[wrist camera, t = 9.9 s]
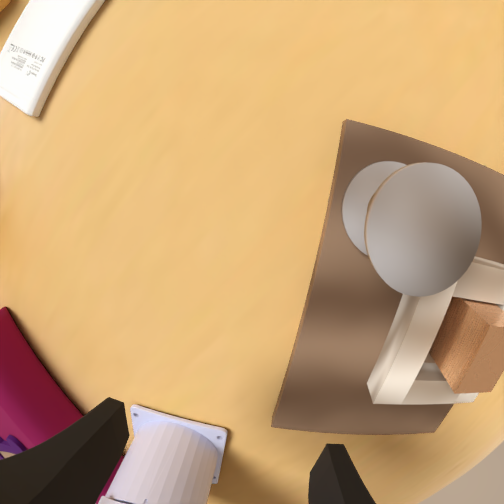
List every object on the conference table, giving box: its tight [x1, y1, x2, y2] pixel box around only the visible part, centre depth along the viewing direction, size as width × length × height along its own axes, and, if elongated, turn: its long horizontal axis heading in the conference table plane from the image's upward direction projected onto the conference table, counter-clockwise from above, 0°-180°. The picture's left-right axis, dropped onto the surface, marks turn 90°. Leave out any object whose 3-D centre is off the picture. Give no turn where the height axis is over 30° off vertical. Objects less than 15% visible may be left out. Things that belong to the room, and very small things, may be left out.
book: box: [0, 307, 124, 504], centre depth 22 cm, size 21×28×8 cm
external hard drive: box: [0, 0, 105, 117], centre depth 13 cm, size 2×8×12 cm
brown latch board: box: [271, 119, 504, 435], centre depth 14 cm, size 20×14×6 cm
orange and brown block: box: [429, 296, 504, 394], centre depth 13 cm, size 4×3×5 cm
